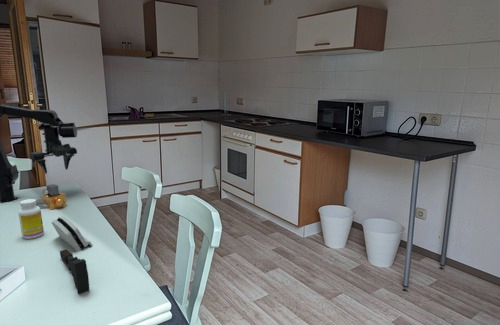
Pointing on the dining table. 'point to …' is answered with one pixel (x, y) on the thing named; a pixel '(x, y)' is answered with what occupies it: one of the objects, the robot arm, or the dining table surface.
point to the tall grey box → (52, 190)
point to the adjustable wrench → (76, 270)
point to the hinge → (70, 233)
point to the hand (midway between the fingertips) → (56, 171)
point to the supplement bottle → (30, 219)
